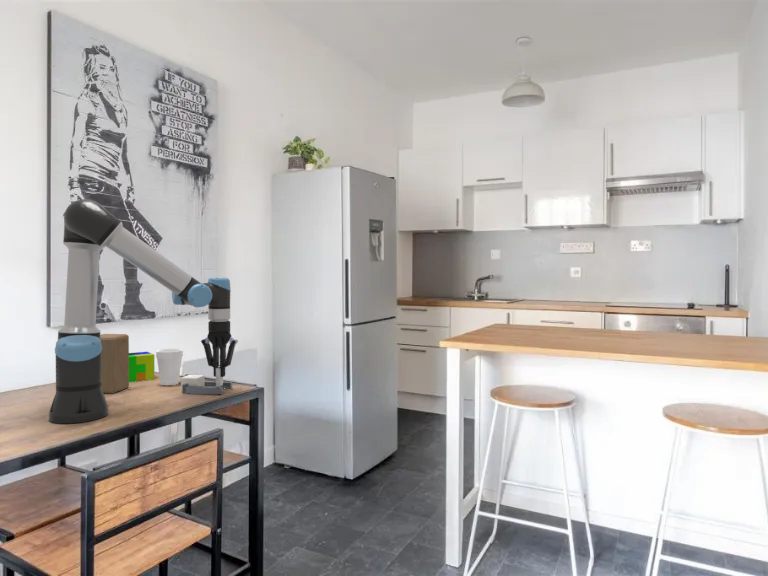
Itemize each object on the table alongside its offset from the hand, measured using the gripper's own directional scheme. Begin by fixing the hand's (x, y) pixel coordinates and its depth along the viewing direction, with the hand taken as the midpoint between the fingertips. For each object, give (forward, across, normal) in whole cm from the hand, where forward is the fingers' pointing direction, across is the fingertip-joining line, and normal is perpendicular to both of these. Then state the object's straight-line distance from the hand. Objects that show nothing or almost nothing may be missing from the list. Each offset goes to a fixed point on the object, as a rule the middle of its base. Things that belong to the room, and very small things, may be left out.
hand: (219, 385), depth 187 cm
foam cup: (+2, +24, -9) cm, 25 cm away
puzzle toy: (+2, +41, -17) cm, 45 cm away
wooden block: (+2, +40, +4) cm, 40 cm away
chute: (+2, +4, 0) cm, 5 cm away
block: (+2, +10, 0) cm, 10 cm away
